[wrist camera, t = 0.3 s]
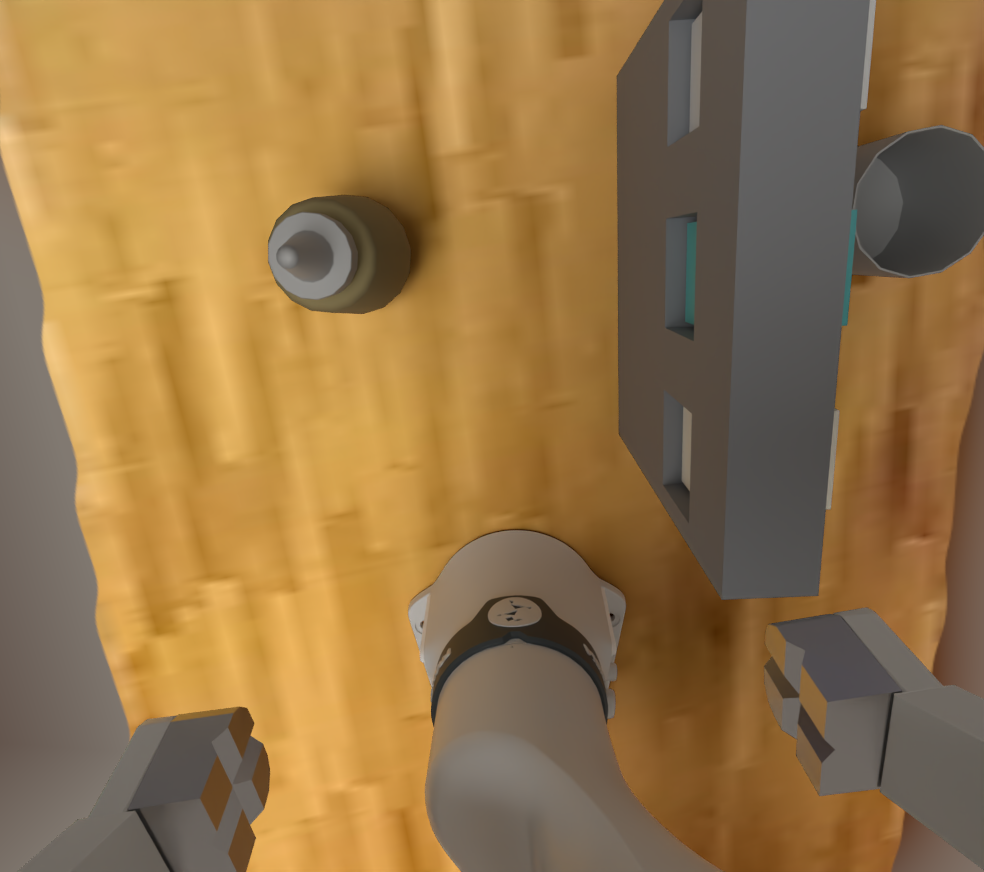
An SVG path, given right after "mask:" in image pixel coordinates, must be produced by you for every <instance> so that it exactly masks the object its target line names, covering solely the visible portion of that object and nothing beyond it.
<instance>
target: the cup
mask: <svg viewBox="0 0 984 872" xmlns="http://www.w3.org/2000/svg"><path fill="white" fill-rule="evenodd" d="M852 210H857V221H856V232H855V243H854V255H853V266H852V275H867V276H883V277H898V278H913V277H919V276H924V275H930V274H935V273H941V272H943V271H944V270H946V269H947V268H949V267H950V266H952V265H953V264H955V263H956V262H958V261H959V260H961V259H963V258H964V257H966V256H967V255H969V254H970V253H971V252H972V251H973V249H974V248H975V246H976V245H977V244H978V242H979V241H980V239H981V238H982V237H983V235H984V147H983V146H982V145H981V144H980V143H979V141H978V140H977V139H976V138H975V137H974V136H973V135H972V134H969V133H966V132H963V131H959V130H956V129H953V128H950V127H946V126H943V125H939V126H934V127H929V128H924V129H919V130H914V131H909V132H905V133H902V134H898V135H895V136H892V137H888V138H885V139H882V140H878V141H875V142H872V143H868V144H865V145H862V146H858V147H857V155H856V166H855V178H854V189H853V201H852Z"/></svg>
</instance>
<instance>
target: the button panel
mask: <svg viewBox="0 0 984 872" xmlns="http://www.w3.org/2000/svg"><path fill="white" fill-rule="evenodd" d="M869 5H870V0H664V2H663V3H662V5H661V6H660V8H659V10H658V11H657V13H656V14H655V16H654V18H653V19H652V21H651V22H650V24H649V26H648V27H647V29H646V30H645V32H644V34H643V35H642V37H641V38H640V40H639V42H638V43H637V45H636V46H635V48H634V50H633V51H632V53H631V54H630V56H629V58H628V59H627V61H626V62H625V64H624V66H623V67H622V69H621V70H620V72H619V74H618V75H617V196H618V376H619V435H620V437H621V438H622V440H623V442H624V443H625V445H626V446H627V448H628V450H629V451H630V453H631V454H632V456H633V458H634V459H635V461H636V462H637V464H638V466H639V467H640V469H641V471H642V472H643V474H644V475H645V477H646V479H647V480H648V482H649V483H650V485H651V487H652V488H653V490H654V491H655V493H656V495H657V496H658V498H659V499H660V501H661V503H662V504H663V506H664V508H665V509H666V511H667V512H668V514H669V516H670V517H671V519H672V520H673V522H674V524H675V525H676V527H677V528H678V530H679V532H680V533H681V535H682V537H683V538H684V540H685V541H686V543H687V545H688V546H689V548H690V549H691V551H692V553H693V554H694V556H695V557H696V559H697V561H698V562H699V564H700V565H701V567H702V569H703V570H704V572H705V574H706V575H707V577H708V578H709V580H710V582H711V583H712V585H713V586H714V588H715V590H716V591H717V593H718V594H719V596H720V598H721V599H722V600H727V599H751V598H776V597H801V596H818V593H819V581H820V570H821V558H822V547H823V535H824V524H825V512H826V501H827V489H828V477H829V466H830V454H831V443H832V431H833V420H834V408H835V397H836V385H837V374H838V362H839V351H840V339H841V328H842V316H843V305H844V293H845V281H846V270H847V258H848V247H849V235H850V224H851V212H852V201H853V189H854V178H855V166H856V155H857V143H858V132H859V120H860V109H861V97H862V85H863V74H864V62H865V51H866V39H867V28H868V16H869ZM701 12H702V40H701V79H700V117H699V127H697V128H696V129H694V130H693V131H691V132H690V133H689V125H690V80H691V34H692V23H693V22H694V21H695V20H696V18H697V17H698V16H699V15H700V13H701ZM692 222H697V234H696V272H695V311H694V325H693V324H690V323H687V322H685V306H686V261H687V223H692ZM683 406H684V407H685V408H686V409H687V410H688V411H689V412H690V413H692V427H691V466H690V491H689V490H688V488H687V487H686V486H685V485H684V483H683V482H682V442H683Z"/></svg>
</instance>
